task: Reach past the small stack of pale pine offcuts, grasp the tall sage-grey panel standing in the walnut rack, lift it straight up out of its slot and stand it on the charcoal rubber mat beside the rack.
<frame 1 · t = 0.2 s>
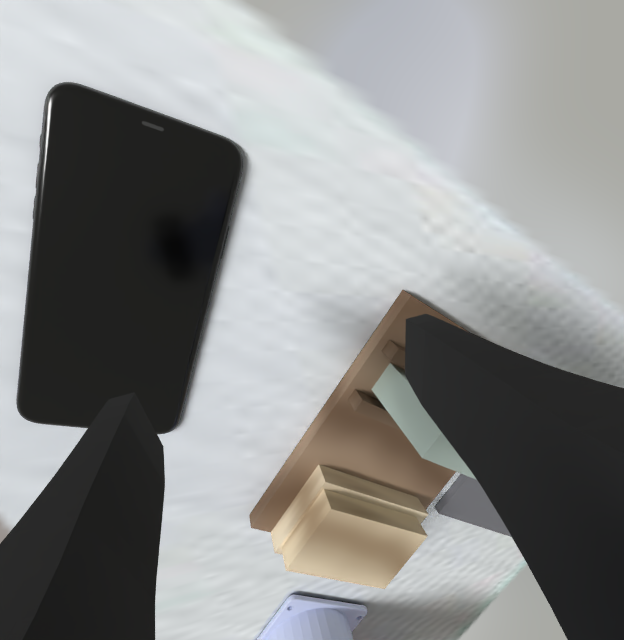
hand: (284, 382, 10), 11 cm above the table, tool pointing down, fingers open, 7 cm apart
charcoal mat: (519, 467, 31), on the table
walnut rack: (390, 438, 26), on the table
upper pine offcut: (351, 531, 25), point 2 cm above the table, touching lower pine offcut
sage panel: (431, 401, 25), point 1 cm above the table, touching walnut rack
lower pine offcut: (347, 514, 27), point 1 cm above the table, touching upper pine offcut, walnut rack
smartphone: (128, 285, 19), on the table
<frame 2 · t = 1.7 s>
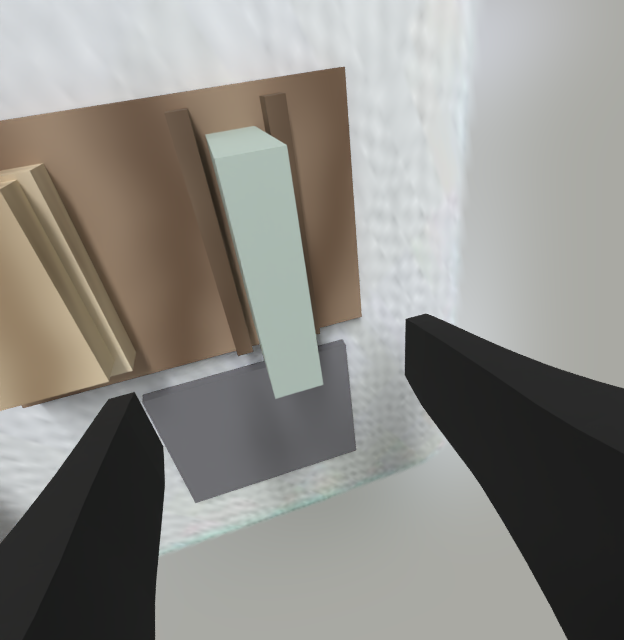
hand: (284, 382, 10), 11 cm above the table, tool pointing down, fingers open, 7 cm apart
charcoal mat: (263, 422, 25), on the table
walnut rack: (167, 248, 18), on the table
upper pine offcut: (4, 298, 15), point 2 cm above the table, touching lower pine offcut
sage panel: (253, 236, 18), point 1 cm above the table, touching walnut rack
lower pine offcut: (22, 288, 16), point 1 cm above the table, touching upper pine offcut, walnut rack
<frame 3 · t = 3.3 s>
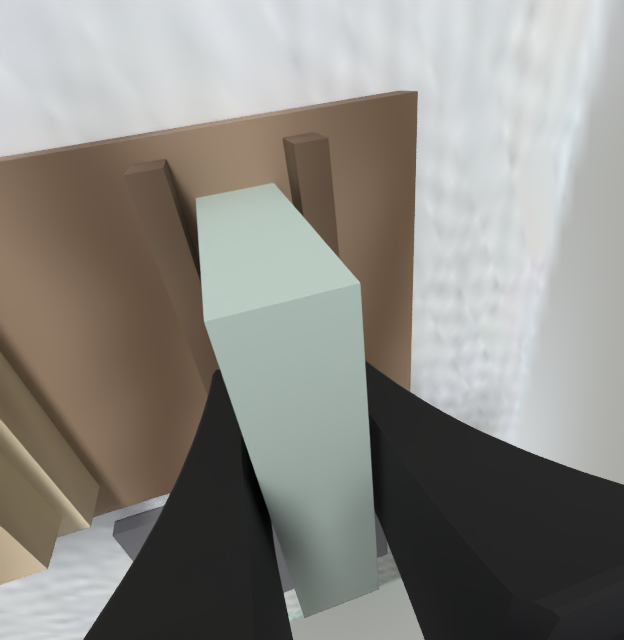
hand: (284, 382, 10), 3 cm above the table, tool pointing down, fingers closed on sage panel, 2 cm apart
charcoal mat: (274, 534, 20), on the table
walnut rack: (142, 348, 12), on the table
sage panel: (268, 333, 12), point 1 cm above the table, touching gripper, walnut rack
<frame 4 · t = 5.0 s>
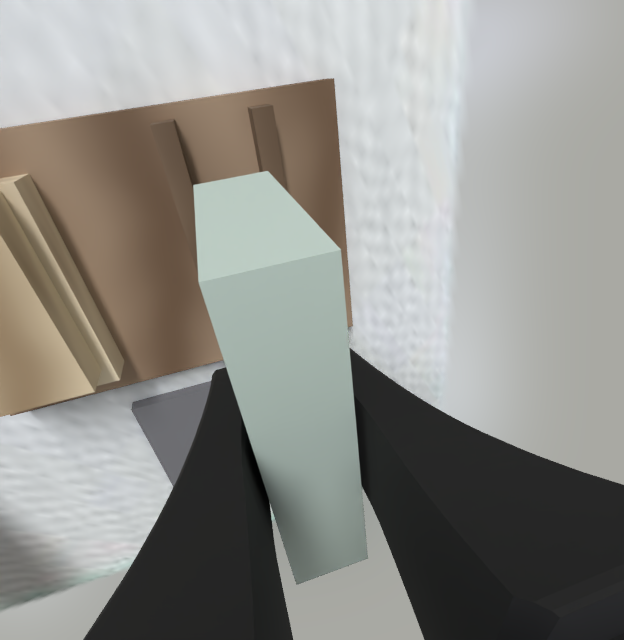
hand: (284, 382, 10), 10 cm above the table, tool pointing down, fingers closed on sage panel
charcoal mat: (254, 430, 25), on the table
walnut rack: (156, 257, 18), on the table
sage panel: (263, 318, 13), point 7 cm above the table, touching gripper
lower pine offcut: (8, 297, 16), point 1 cm above the table, touching upper pine offcut, walnut rack
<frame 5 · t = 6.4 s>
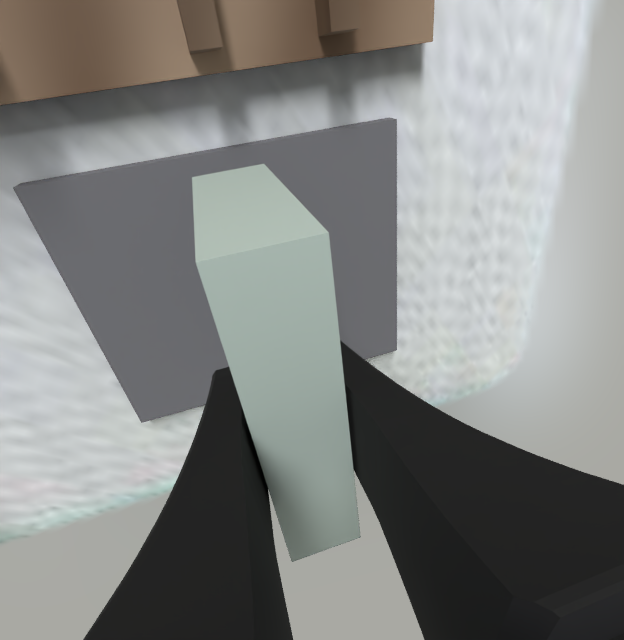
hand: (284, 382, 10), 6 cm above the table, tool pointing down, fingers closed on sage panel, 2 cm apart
charcoal mat: (251, 282, 15), on the table
sage panel: (260, 307, 13), point 3 cm above the table, touching gripper
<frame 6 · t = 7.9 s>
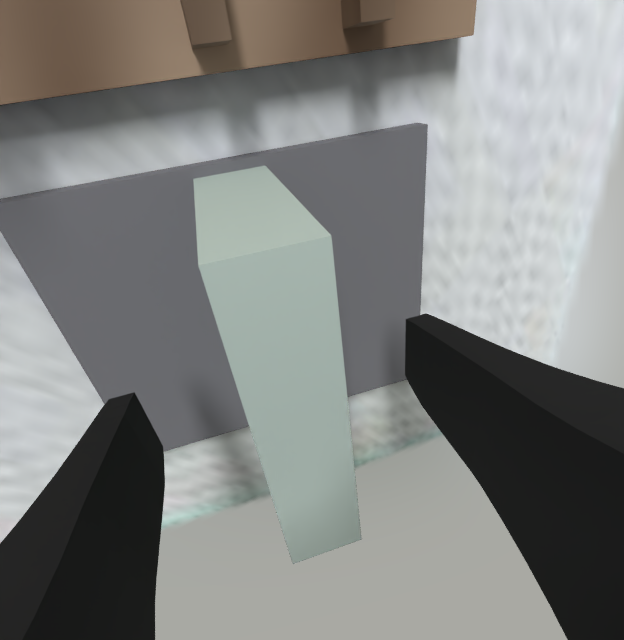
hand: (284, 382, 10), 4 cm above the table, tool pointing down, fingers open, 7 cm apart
charcoal mat: (259, 306, 14), on the table
sage panel: (261, 309, 13), point 1 cm above the table, touching charcoal mat
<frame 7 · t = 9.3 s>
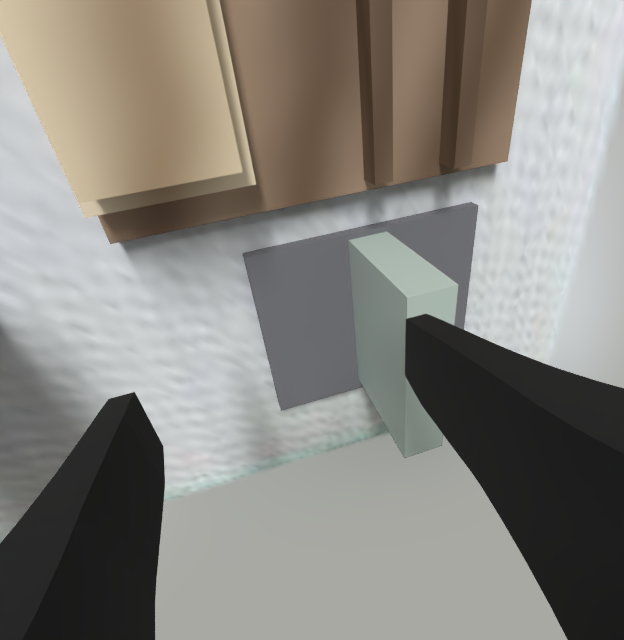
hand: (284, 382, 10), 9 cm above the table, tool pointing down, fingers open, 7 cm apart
charcoal mat: (367, 311, 22), on the table
walnut rack: (301, 29, 14), on the table
upper pine offcut: (119, 33, 11), point 2 cm above the table, touching lower pine offcut
sage panel: (371, 313, 21), point 1 cm above the table, touching charcoal mat
lower pine offcut: (129, 49, 12), point 1 cm above the table, touching upper pine offcut, walnut rack
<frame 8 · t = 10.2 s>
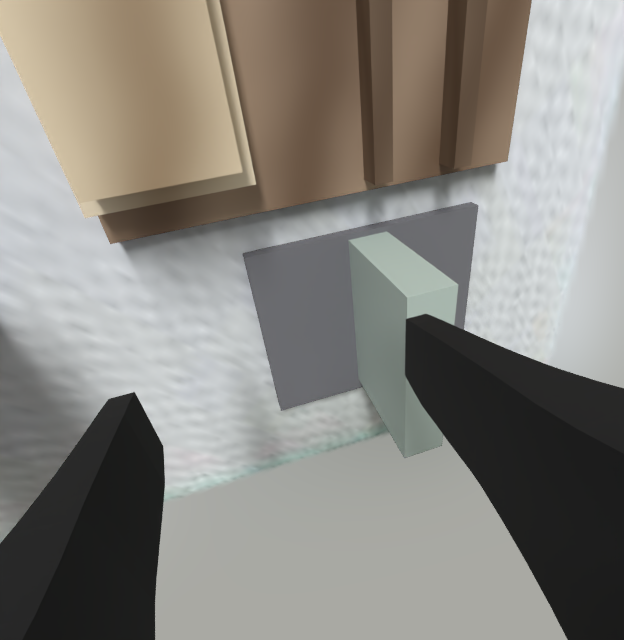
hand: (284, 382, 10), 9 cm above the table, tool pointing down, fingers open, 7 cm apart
charcoal mat: (367, 311, 22), on the table
walnut rack: (301, 29, 14), on the table
upper pine offcut: (119, 33, 11), point 2 cm above the table, touching lower pine offcut
sage panel: (371, 313, 21), point 1 cm above the table, touching charcoal mat
lower pine offcut: (129, 49, 12), point 1 cm above the table, touching upper pine offcut, walnut rack
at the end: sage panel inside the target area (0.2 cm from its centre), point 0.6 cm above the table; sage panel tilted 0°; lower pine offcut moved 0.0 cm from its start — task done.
